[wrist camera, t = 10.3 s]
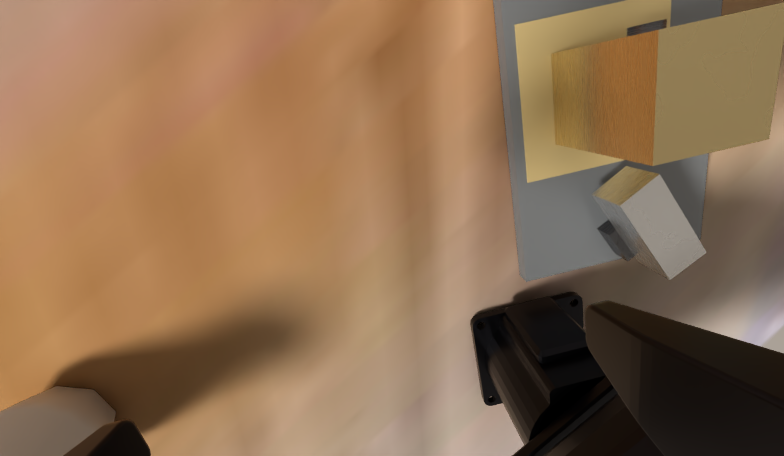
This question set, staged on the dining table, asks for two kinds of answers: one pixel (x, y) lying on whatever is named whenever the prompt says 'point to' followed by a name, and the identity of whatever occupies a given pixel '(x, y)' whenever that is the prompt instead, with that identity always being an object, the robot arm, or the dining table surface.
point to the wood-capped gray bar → (647, 222)
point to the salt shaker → (52, 422)
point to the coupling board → (563, 164)
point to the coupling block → (671, 88)
